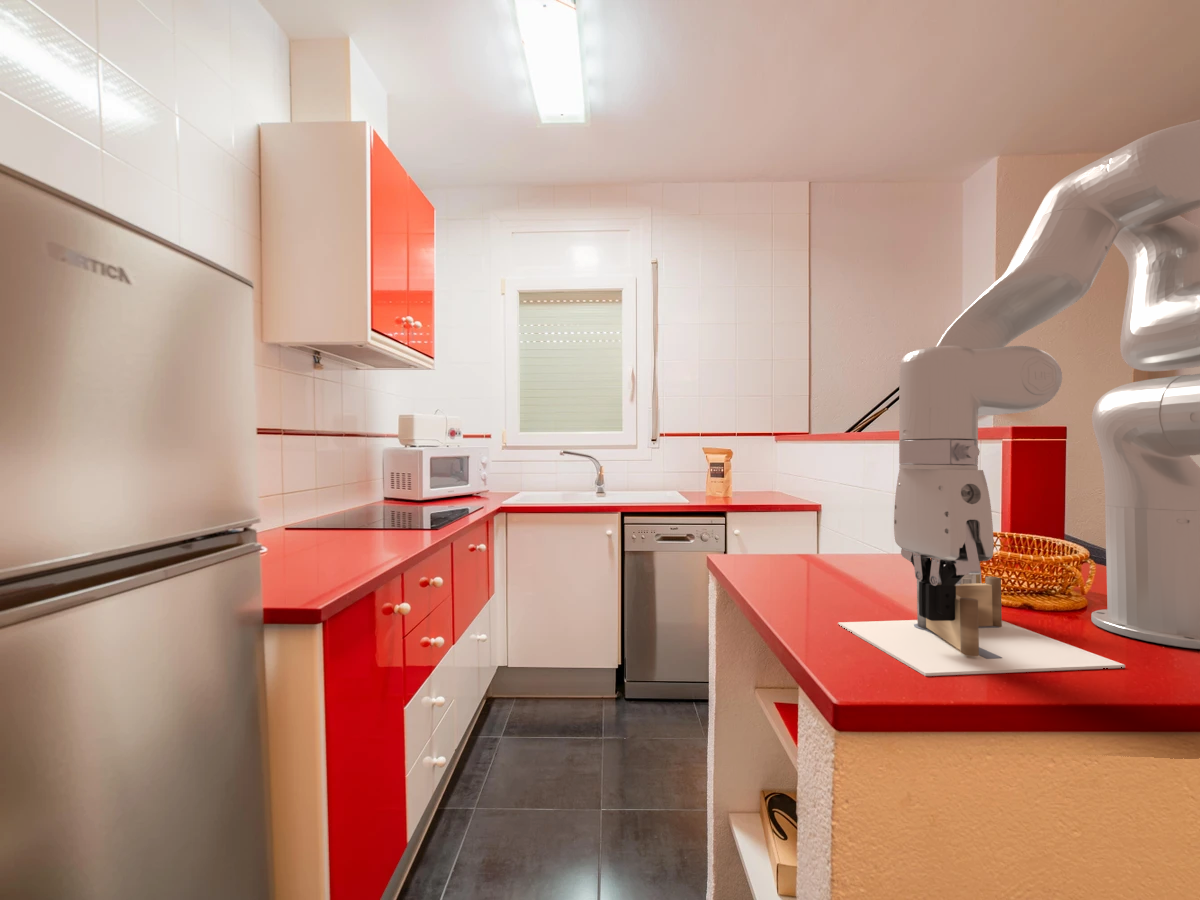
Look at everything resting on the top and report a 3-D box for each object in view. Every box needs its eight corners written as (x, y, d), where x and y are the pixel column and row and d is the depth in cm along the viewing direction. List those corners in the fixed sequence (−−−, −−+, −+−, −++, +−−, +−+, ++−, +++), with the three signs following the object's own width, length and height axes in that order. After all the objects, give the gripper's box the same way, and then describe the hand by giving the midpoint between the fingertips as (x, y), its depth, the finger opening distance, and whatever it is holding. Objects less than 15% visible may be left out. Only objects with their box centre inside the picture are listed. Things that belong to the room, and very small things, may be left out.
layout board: (993, 619, 69) (993, 616, 69) (1124, 667, 53) (1124, 663, 53) (837, 624, 67) (837, 621, 67) (925, 676, 51) (925, 672, 51)
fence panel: (923, 627, 64) (922, 580, 64) (937, 627, 64) (936, 581, 64) (965, 655, 55) (964, 601, 55) (982, 656, 54) (981, 601, 54)
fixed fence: (993, 625, 67) (992, 571, 67) (1005, 629, 65) (1004, 574, 65) (914, 627, 66) (913, 573, 66) (924, 632, 64) (923, 576, 64)
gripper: (1027, 456, 51) (1028, 641, 51) (922, 457, 66) (921, 600, 66) (957, 455, 50) (957, 642, 50) (866, 457, 65) (866, 600, 65)
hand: (937, 618), depth 58 cm, fingers closed
